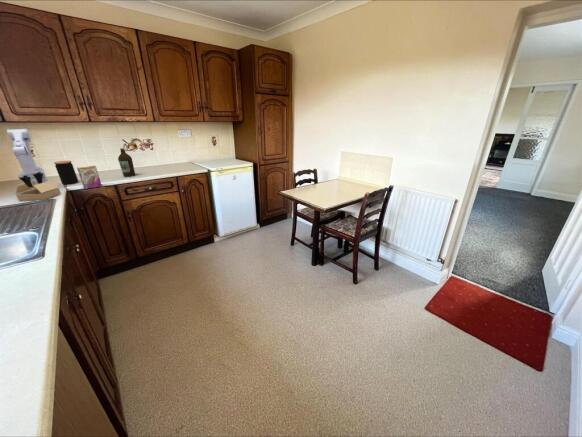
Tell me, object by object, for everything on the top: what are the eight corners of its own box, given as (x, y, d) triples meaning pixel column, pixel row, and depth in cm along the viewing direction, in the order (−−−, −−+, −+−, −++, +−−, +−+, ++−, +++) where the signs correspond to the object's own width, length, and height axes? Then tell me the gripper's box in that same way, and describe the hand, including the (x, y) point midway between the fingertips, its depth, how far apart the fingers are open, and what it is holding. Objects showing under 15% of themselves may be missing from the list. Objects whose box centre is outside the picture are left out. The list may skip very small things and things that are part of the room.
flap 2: (50, 180, 170) (51, 180, 170) (58, 187, 172) (58, 187, 172) (33, 185, 158) (33, 185, 158) (41, 193, 160) (41, 192, 160)
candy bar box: (85, 189, 186) (77, 168, 180) (83, 188, 189) (76, 167, 183) (102, 186, 194) (95, 165, 188) (100, 185, 197) (94, 165, 191)
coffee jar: (82, 182, 207) (74, 160, 200) (68, 185, 197) (60, 163, 190) (72, 181, 210) (65, 160, 202) (59, 184, 200) (50, 162, 193)
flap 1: (34, 188, 172) (34, 187, 172) (36, 180, 170) (35, 180, 170) (16, 193, 160) (15, 193, 160) (17, 185, 158) (16, 185, 158)
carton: (38, 194, 174) (35, 188, 172) (61, 194, 175) (58, 188, 173) (18, 201, 161) (15, 194, 160) (43, 200, 162) (41, 194, 160)
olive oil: (126, 174, 231) (118, 147, 221) (138, 174, 232) (131, 147, 222) (120, 177, 221) (112, 149, 212) (133, 177, 223) (125, 149, 213)
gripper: (22, 167, 153) (31, 188, 158) (43, 163, 166) (51, 182, 171) (10, 167, 152) (20, 188, 158) (32, 163, 166) (40, 182, 171)
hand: (35, 185), depth 165 cm, fingers open, 7 cm apart
